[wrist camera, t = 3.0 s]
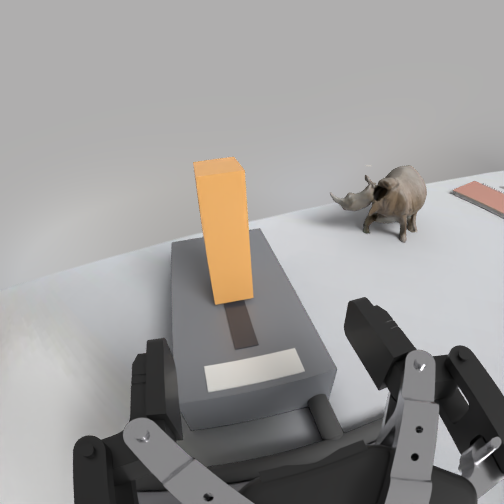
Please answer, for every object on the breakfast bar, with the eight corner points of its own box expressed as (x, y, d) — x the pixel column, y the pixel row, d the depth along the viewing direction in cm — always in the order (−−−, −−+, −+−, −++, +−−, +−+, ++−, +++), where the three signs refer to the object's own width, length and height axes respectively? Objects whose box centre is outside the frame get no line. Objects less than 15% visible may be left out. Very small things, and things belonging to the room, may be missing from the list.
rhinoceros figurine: (449, 211, 40) (426, 135, 31) (404, 278, 39) (371, 209, 31) (413, 198, 46) (382, 129, 38) (368, 257, 46) (327, 193, 37)
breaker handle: (215, 304, 23) (195, 177, 17) (209, 275, 26) (193, 162, 21) (253, 297, 23) (244, 170, 18) (243, 269, 27) (233, 156, 21)
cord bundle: (134, 531, 10) (125, 529, 10) (128, 411, 19) (122, 402, 18) (428, 457, 14) (436, 450, 13) (370, 360, 22) (374, 350, 21)
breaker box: (191, 430, 18) (176, 402, 16) (178, 272, 34) (171, 241, 32) (328, 400, 19) (337, 368, 17) (261, 258, 36) (260, 227, 34)
